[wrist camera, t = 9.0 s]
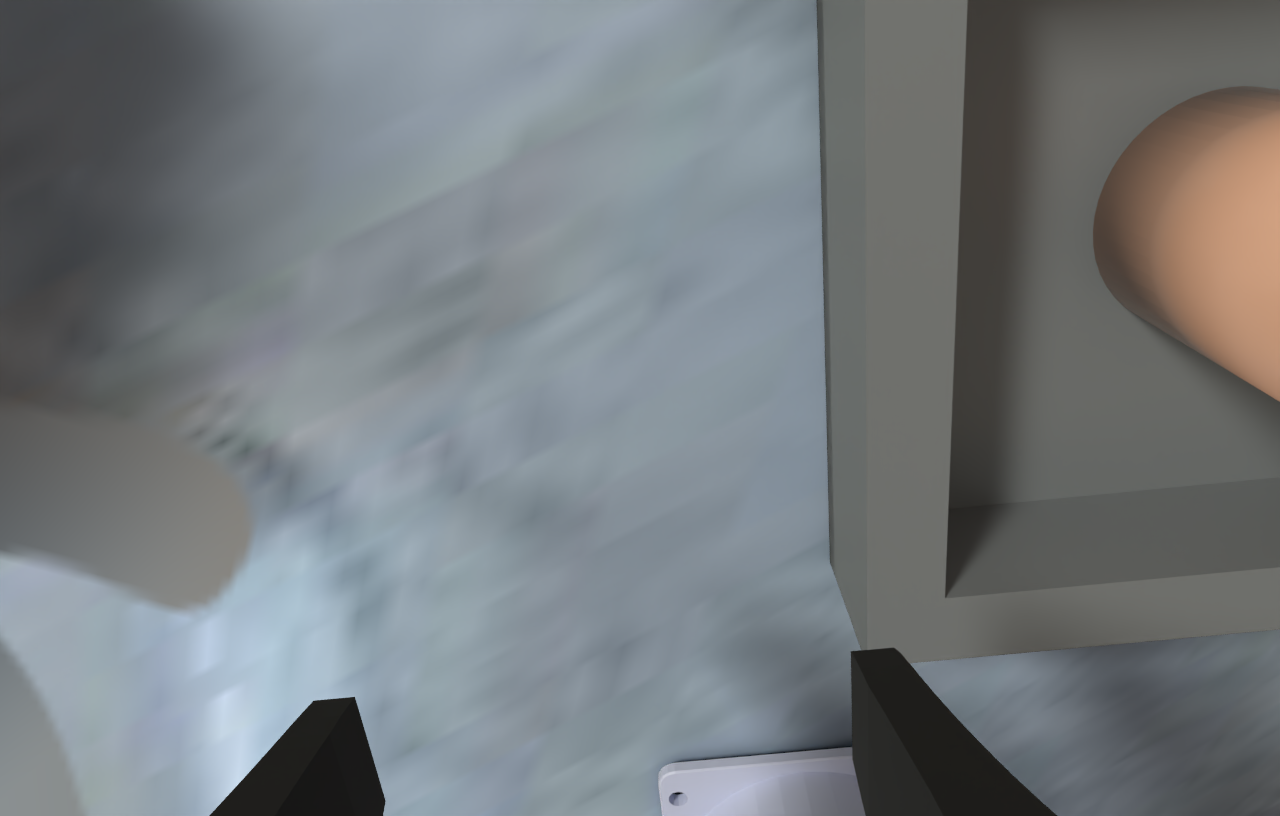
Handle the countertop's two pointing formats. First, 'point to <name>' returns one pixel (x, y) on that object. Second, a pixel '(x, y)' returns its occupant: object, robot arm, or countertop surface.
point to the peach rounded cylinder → (1202, 229)
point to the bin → (1025, 335)
